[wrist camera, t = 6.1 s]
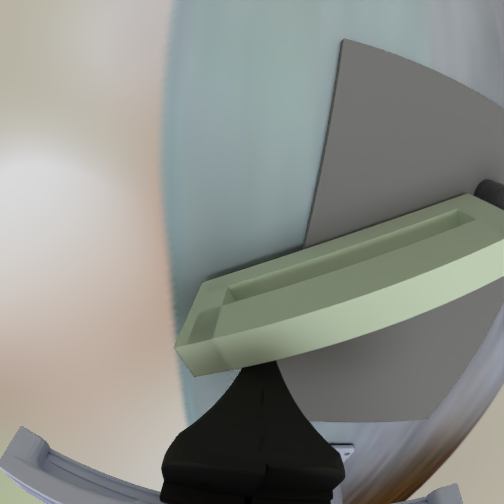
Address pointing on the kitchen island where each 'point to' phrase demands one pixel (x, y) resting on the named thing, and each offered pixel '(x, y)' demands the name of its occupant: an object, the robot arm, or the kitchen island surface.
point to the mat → (388, 208)
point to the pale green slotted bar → (344, 287)
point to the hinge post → (491, 192)
